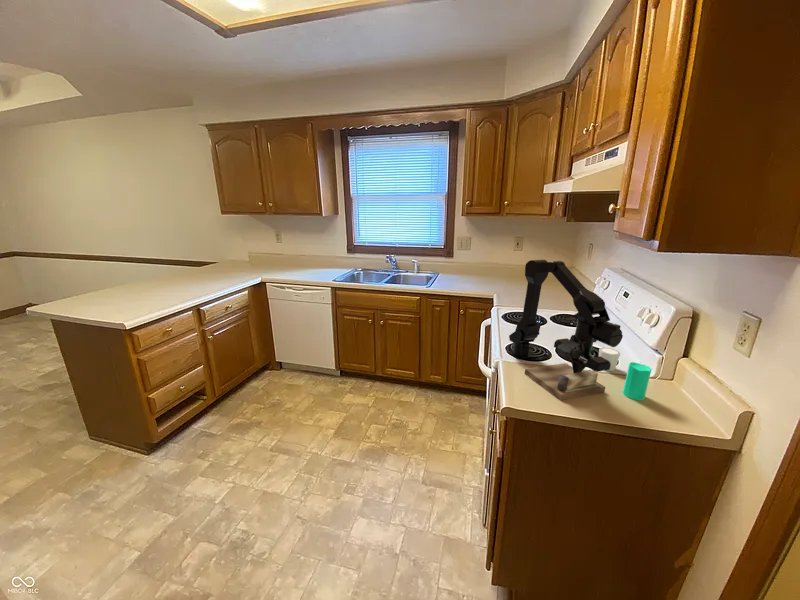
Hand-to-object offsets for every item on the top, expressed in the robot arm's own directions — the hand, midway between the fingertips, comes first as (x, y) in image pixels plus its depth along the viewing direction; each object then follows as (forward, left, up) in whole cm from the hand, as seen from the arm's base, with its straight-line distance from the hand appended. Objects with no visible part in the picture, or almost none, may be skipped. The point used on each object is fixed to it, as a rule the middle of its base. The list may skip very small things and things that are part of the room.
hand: (575, 376), depth 119 cm
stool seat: (-3, -2, -4) cm, 5 cm away
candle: (+10, +15, -4) cm, 18 cm away
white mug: (-8, +23, -4) cm, 24 cm away
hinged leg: (+3, -3, -1) cm, 4 cm away
